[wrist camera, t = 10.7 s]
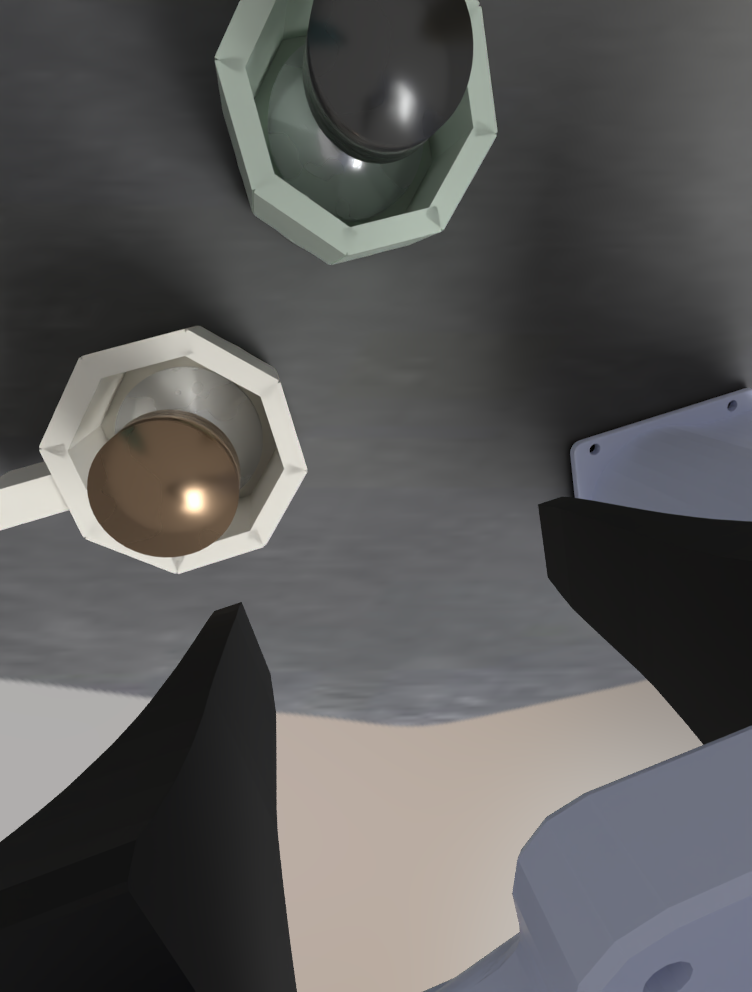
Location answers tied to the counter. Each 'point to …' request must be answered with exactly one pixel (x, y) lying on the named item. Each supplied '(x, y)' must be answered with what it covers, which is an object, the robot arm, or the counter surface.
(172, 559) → the cream press pot
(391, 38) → the sage press plunger
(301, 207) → the sage press pot
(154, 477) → the cream press plunger
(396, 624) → the counter surface
